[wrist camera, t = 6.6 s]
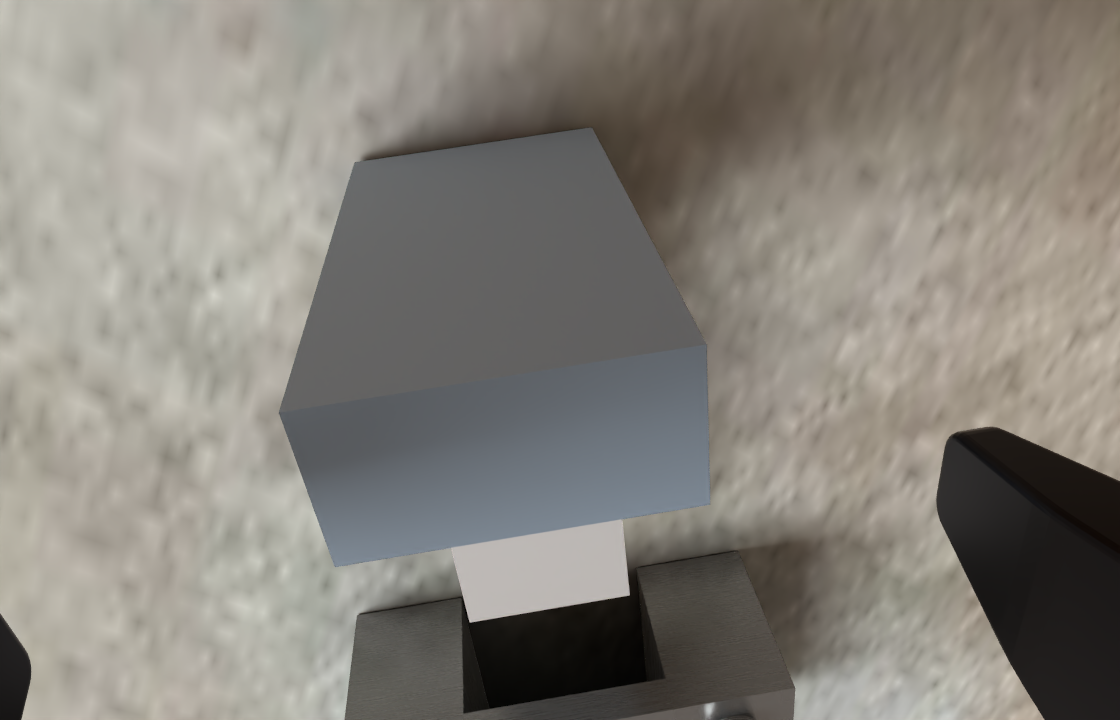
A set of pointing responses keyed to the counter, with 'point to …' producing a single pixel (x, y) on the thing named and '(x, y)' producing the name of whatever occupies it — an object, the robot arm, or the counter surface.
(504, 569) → the handle
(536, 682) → the counter surface
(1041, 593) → the robot arm
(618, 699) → the housing
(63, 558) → the counter surface
